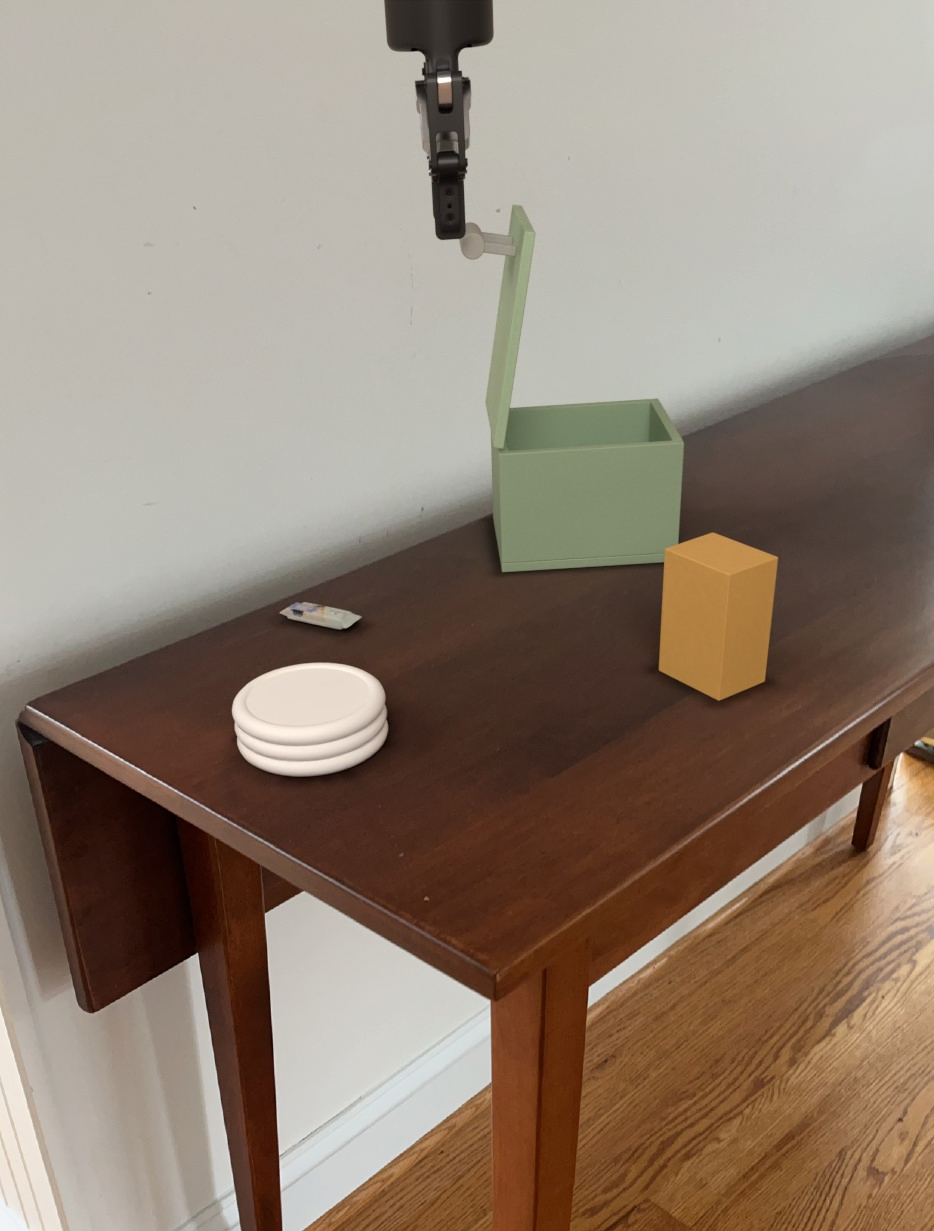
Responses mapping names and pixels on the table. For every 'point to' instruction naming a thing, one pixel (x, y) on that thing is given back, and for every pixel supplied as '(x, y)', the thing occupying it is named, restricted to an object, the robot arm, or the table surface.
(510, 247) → the lid
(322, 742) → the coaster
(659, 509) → the chest
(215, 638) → the table surface
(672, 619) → the carton
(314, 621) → the granola bar
